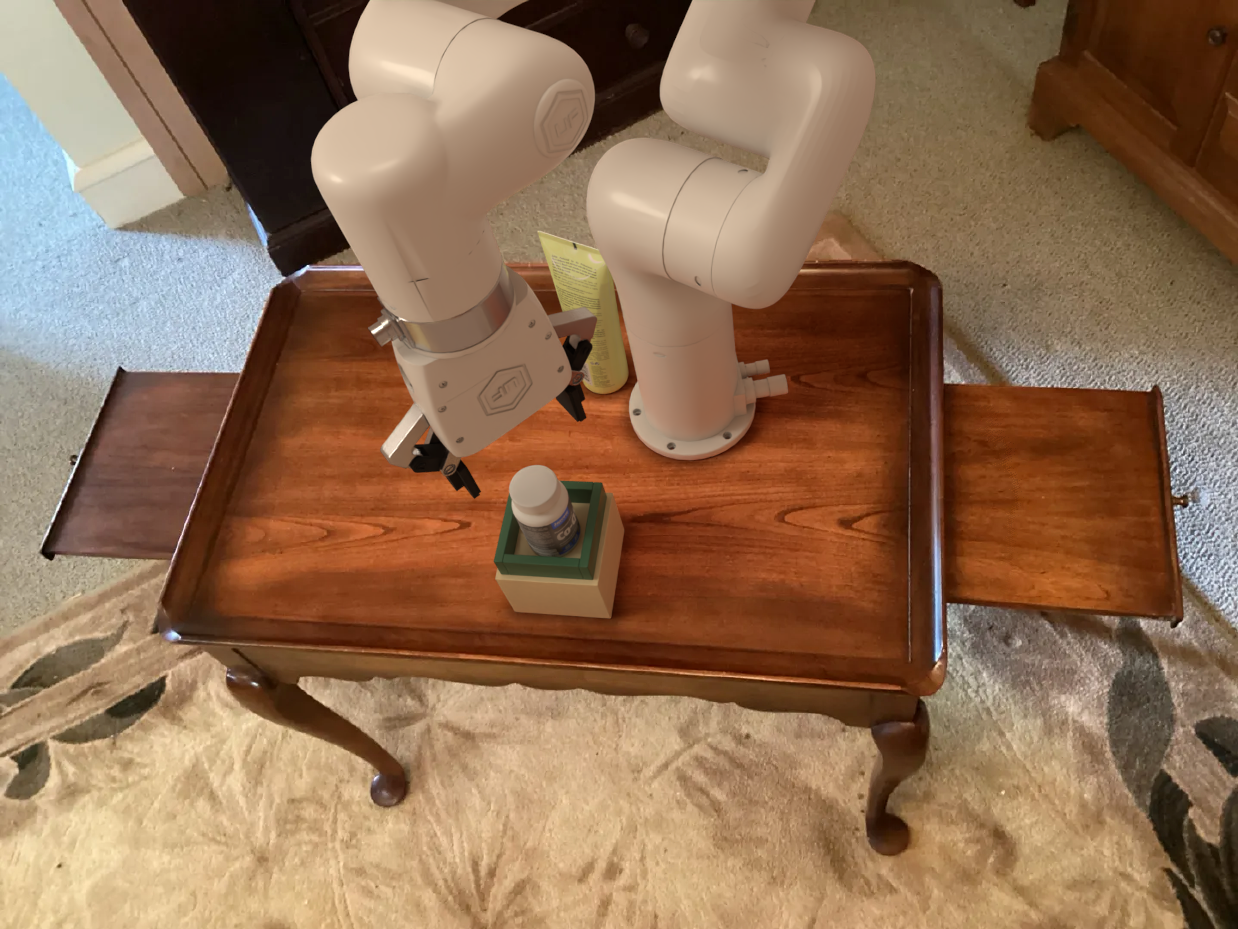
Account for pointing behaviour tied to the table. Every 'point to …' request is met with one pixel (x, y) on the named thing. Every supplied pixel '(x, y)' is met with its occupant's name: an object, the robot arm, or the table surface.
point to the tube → (590, 307)
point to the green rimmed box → (565, 560)
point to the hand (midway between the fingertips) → (520, 446)
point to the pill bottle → (544, 511)
